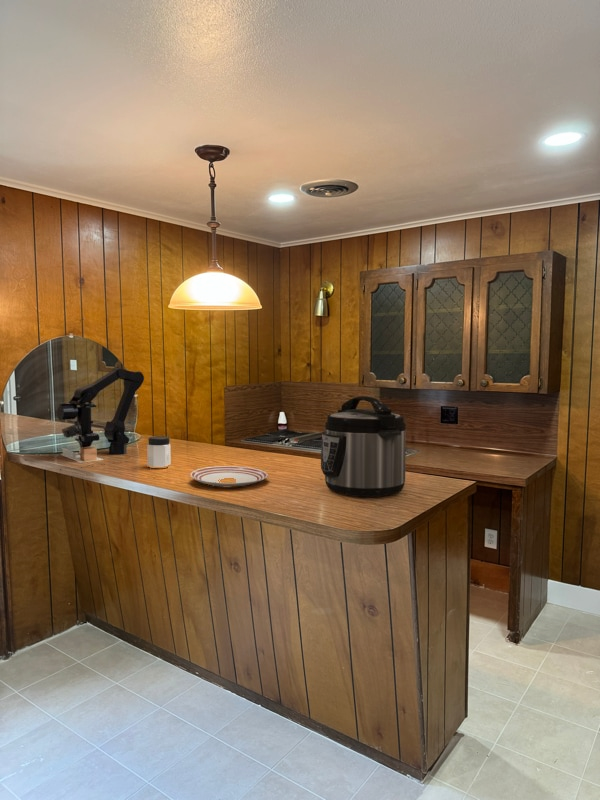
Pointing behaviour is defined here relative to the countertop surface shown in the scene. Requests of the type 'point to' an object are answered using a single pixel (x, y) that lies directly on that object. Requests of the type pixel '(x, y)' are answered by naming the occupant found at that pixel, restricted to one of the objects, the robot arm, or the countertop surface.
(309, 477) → the countertop surface
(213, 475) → the dinner plate
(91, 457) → the block
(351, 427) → the pressure cooker
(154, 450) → the jar
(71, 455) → the channel
